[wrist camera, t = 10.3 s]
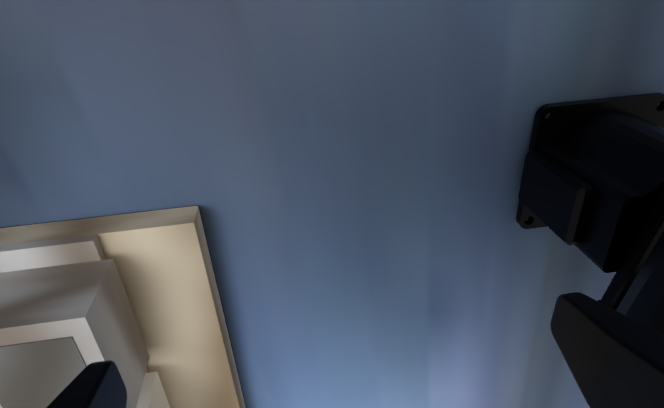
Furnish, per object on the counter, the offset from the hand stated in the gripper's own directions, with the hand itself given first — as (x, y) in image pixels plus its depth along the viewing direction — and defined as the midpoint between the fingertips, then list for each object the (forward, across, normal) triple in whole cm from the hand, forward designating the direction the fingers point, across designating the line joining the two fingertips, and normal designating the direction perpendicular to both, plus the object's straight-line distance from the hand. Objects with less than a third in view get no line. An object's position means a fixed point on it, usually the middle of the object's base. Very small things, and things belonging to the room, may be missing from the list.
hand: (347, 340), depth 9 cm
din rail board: (+12, +11, +14) cm, 21 cm away
